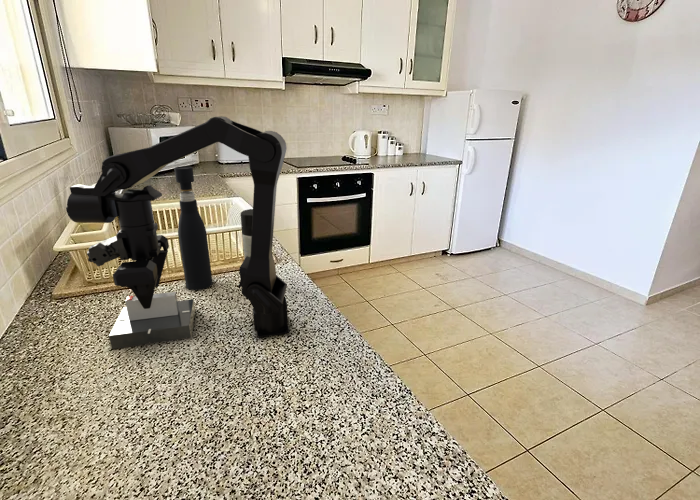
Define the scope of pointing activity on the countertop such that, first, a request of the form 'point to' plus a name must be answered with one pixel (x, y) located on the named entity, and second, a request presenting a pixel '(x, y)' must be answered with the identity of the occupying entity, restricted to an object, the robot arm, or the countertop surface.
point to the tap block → (153, 327)
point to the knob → (153, 306)
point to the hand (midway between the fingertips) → (151, 297)
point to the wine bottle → (192, 235)
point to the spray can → (246, 230)
